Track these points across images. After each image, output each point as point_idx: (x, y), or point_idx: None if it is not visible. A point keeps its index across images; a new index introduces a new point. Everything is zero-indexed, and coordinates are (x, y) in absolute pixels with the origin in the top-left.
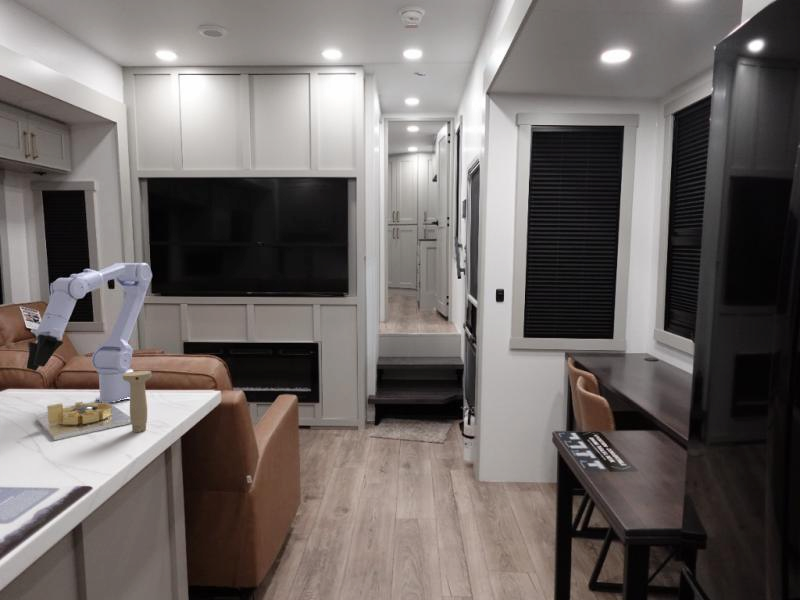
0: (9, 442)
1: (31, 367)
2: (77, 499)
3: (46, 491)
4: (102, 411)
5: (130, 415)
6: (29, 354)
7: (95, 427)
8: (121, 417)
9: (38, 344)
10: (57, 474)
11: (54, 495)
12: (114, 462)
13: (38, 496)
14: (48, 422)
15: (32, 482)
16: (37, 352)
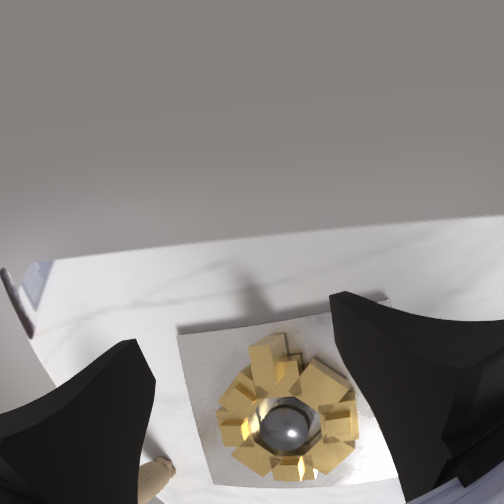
0: (221, 246)
1: (333, 321)
2: (20, 321)
3: (35, 299)
4: (234, 455)
5: (141, 469)
6: (387, 325)
7: (195, 418)
8: (242, 475)
9: (40, 407)
10: (58, 315)
11: (28, 304)
12: (65, 381)
13: (31, 291)
14: (280, 334)
15: (52, 287)
16: (75, 376)
